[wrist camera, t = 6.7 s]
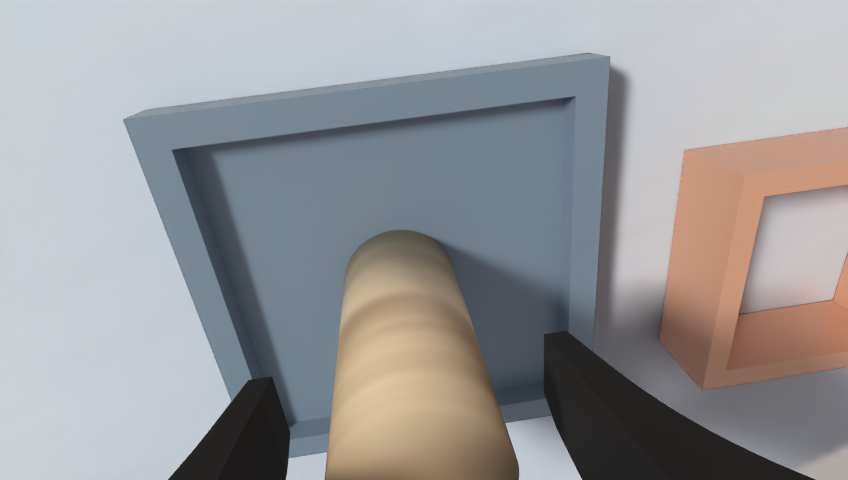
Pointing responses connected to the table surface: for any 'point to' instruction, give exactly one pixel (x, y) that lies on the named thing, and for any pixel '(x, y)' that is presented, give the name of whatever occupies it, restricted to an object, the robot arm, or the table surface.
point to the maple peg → (412, 373)
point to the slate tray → (385, 215)
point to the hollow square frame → (747, 264)
